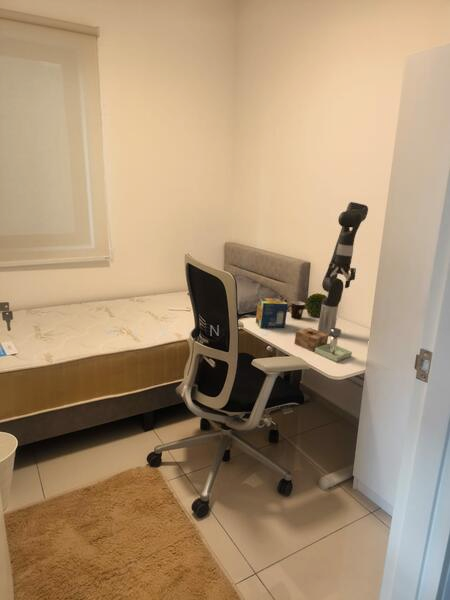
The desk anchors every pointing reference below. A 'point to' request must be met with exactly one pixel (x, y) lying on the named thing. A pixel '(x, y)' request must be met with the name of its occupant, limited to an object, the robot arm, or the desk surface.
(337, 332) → the steel pin
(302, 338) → the brown wooden block
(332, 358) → the sage tray
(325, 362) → the desk surface
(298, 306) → the coffee mug
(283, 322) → the protein box
